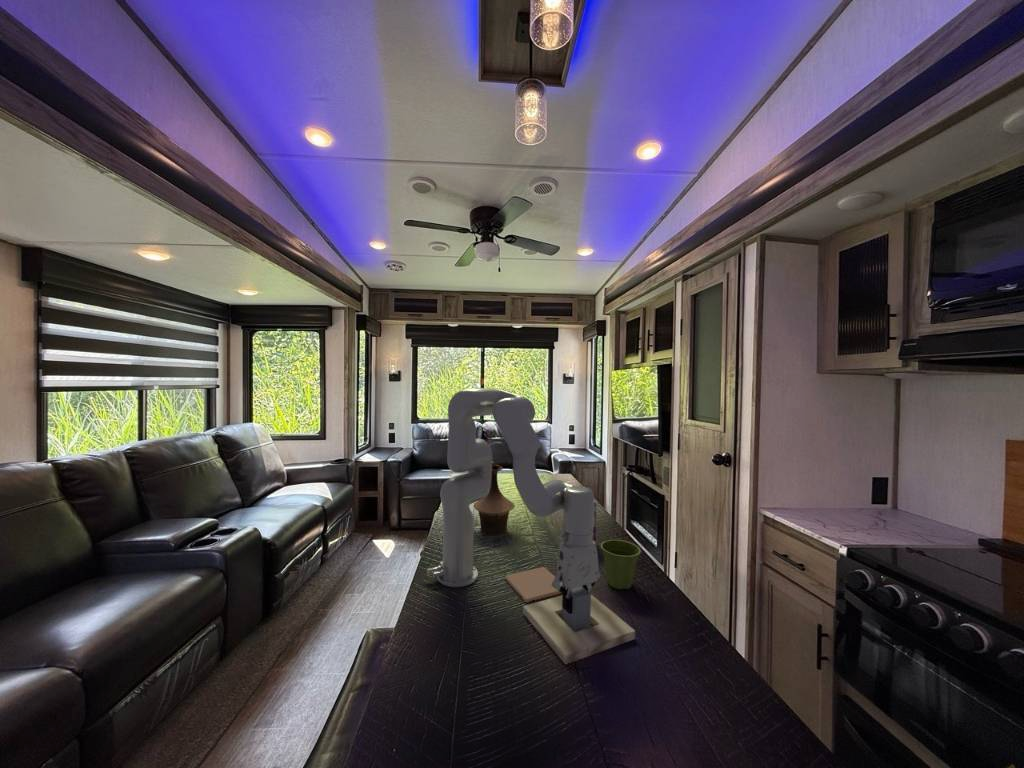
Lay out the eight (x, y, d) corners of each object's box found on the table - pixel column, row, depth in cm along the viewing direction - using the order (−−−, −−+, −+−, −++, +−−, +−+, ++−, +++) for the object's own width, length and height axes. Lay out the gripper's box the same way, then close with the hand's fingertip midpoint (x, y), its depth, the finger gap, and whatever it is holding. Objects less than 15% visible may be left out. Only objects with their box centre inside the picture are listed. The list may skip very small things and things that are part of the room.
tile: (526, 602, 106) (526, 599, 106) (504, 578, 119) (504, 575, 119) (568, 591, 112) (568, 588, 112) (543, 569, 125) (543, 566, 125)
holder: (565, 664, 83) (565, 655, 83) (523, 613, 101) (523, 606, 101) (634, 638, 92) (635, 630, 92) (584, 596, 110) (584, 589, 110)
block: (575, 634, 93) (576, 597, 93) (561, 620, 98) (562, 585, 98) (590, 629, 95) (590, 593, 95) (575, 615, 100) (576, 581, 100)
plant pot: (642, 597, 110) (643, 558, 110) (600, 591, 112) (601, 553, 112) (637, 576, 122) (638, 541, 121) (599, 572, 124) (600, 537, 124)
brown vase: (468, 524, 162) (469, 459, 162) (505, 520, 168) (506, 457, 168) (479, 541, 146) (480, 468, 146) (520, 535, 152) (521, 465, 152)
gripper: (557, 548, 89) (555, 625, 90) (613, 537, 97) (612, 608, 97) (541, 536, 96) (539, 608, 96) (595, 526, 103) (593, 593, 104)
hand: (576, 607), depth 97 cm, fingers closed on block, 4 cm apart
